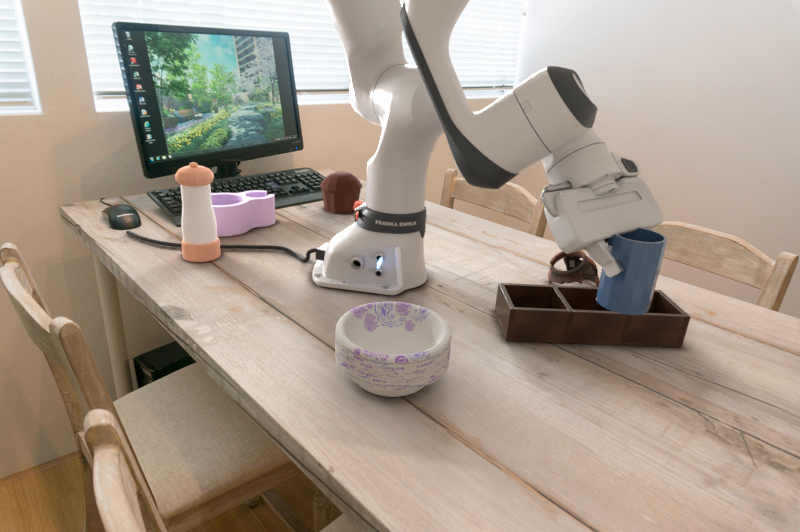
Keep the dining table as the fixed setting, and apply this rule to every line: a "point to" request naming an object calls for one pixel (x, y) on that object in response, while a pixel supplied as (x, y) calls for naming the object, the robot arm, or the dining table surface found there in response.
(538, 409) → the dining table surface
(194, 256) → the pepper shaker
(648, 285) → the cup
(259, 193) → the purple desk organizer
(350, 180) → the muffin
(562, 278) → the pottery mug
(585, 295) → the cup rack
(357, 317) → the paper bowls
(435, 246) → the dining table surface
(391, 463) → the dining table surface
